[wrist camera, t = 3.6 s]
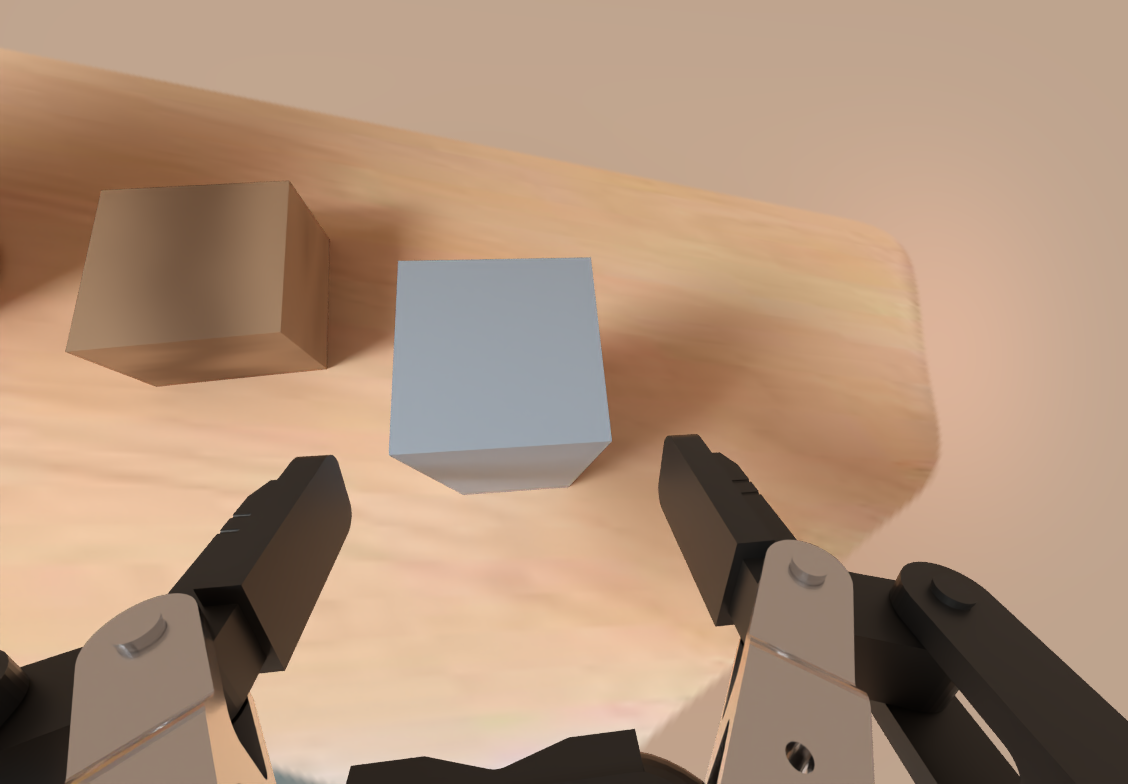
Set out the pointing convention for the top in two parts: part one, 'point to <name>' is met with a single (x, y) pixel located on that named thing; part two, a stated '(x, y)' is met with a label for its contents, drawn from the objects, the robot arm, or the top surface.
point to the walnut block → (203, 284)
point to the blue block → (498, 373)
